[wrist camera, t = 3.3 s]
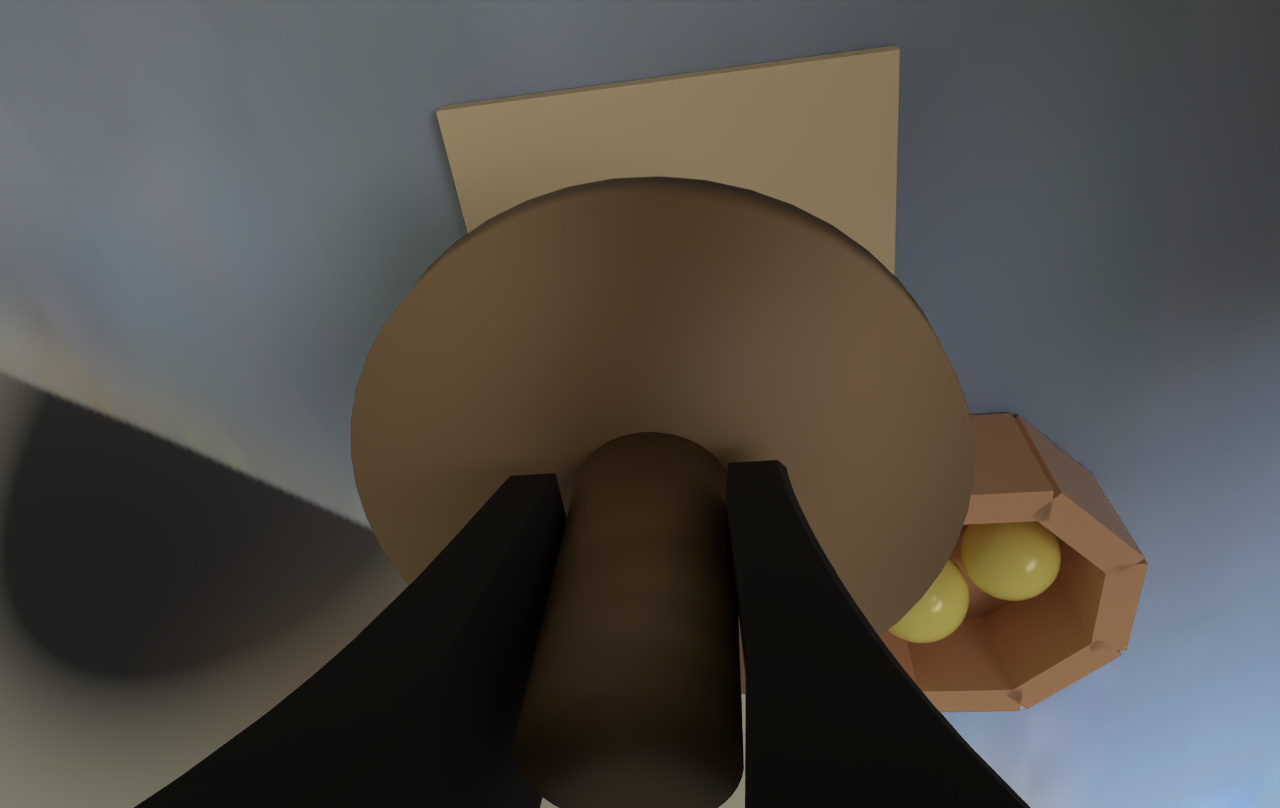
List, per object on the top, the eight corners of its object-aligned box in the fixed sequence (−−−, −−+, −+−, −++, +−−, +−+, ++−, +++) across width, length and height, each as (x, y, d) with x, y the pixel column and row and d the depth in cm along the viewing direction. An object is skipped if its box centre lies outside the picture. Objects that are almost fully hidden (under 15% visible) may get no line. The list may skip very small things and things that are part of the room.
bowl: (1108, 406, 19) (1166, 484, 16) (1068, 618, 23) (1111, 709, 20) (804, 426, 20) (814, 502, 17) (812, 625, 24) (822, 713, 21)
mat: (895, 45, 15) (900, 49, 15) (887, 403, 19) (891, 414, 19) (442, 105, 17) (435, 111, 16) (525, 428, 21) (521, 439, 20)
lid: (982, 135, 9) (1201, 327, 5) (941, 652, 13) (1041, 981, 9) (284, 216, 10) (0, 427, 6) (454, 668, 15) (354, 967, 10)
